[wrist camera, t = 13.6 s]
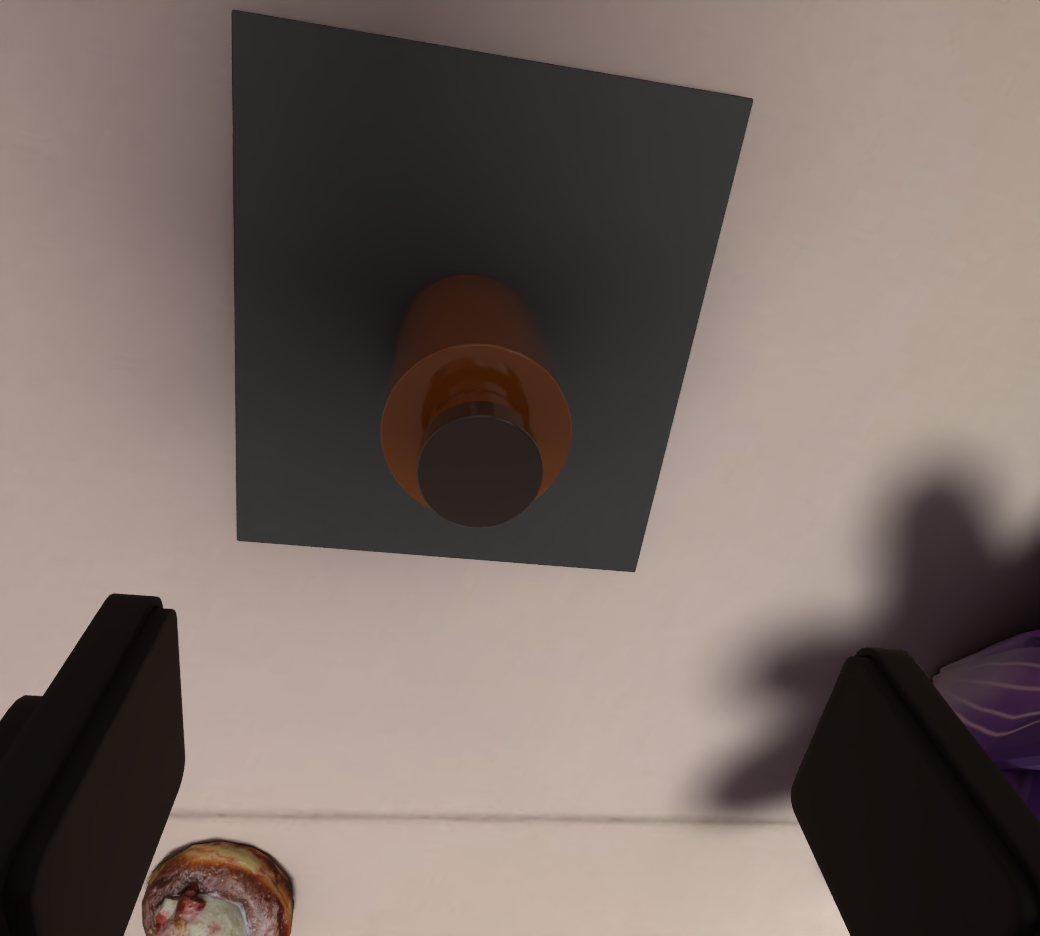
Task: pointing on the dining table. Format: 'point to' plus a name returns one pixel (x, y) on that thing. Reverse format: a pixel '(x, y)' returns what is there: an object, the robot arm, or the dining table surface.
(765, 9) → the dining table surface
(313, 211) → the mat
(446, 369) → the spice bottle
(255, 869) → the pastry
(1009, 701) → the decorative flower
